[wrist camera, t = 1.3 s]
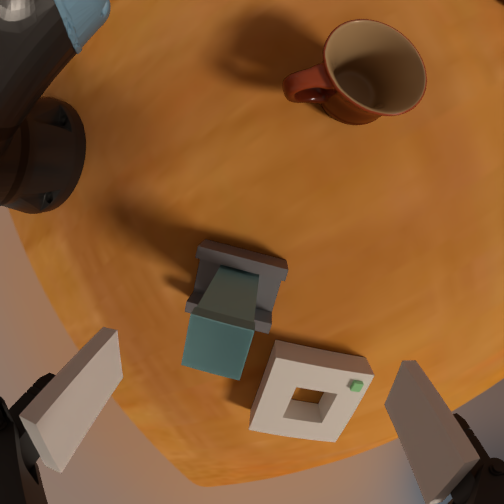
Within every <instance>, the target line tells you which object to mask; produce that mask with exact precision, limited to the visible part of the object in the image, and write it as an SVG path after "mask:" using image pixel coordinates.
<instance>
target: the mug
mask: <svg viewBox="0 0 504 504" xmlns="http://www.w3.org/2000/svg"><path fill="white" fill-rule="evenodd" d="M426 84H427V76H426V70H425V66H424V63H423V60H422V58H421V56H420V54H419V52H418V51H417V49H416V48H415V47H414V45H413V44H412V43H411V42H410V41H409V40H408V39H407V38H406V37H405V36H404V35H403V34H402V33H400V32H399V31H397V30H396V29H394V28H393V27H391V26H389V25H387V24H384V23H381V22H378V21H374V20H368V19H357V20H351V21H348V22H345V23H343V24H341V25H339V26H338V27H336V28H335V29H334V30H333V31H332V32H331V33H330V35H329V36H328V38H327V40H326V42H325V45H324V49H323V63H321V64H317V65H315V66H313V67H311V68H309V69H305V70H301V71H298V72H295V73H293V74H290V75H289V76H287V77H286V78H285V79H284V81H283V83H282V88H283V92H284V95H285V97H286V98H287V100H289V101H291V102H294V103H320V104H321V106H322V107H323V109H324V111H325V112H326V113H327V114H328V115H330V116H331V117H332V118H334V119H335V120H337V121H339V122H341V123H344V124H349V125H363V124H368V123H371V122H373V121H375V120H376V119H378V118H379V117H381V116H396V115H401V114H404V113H406V112H408V111H410V110H412V109H413V108H414V107H416V106H417V104H418V103H419V102H420V101H421V99H422V97H423V95H424V93H425V90H426Z"/></svg>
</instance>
